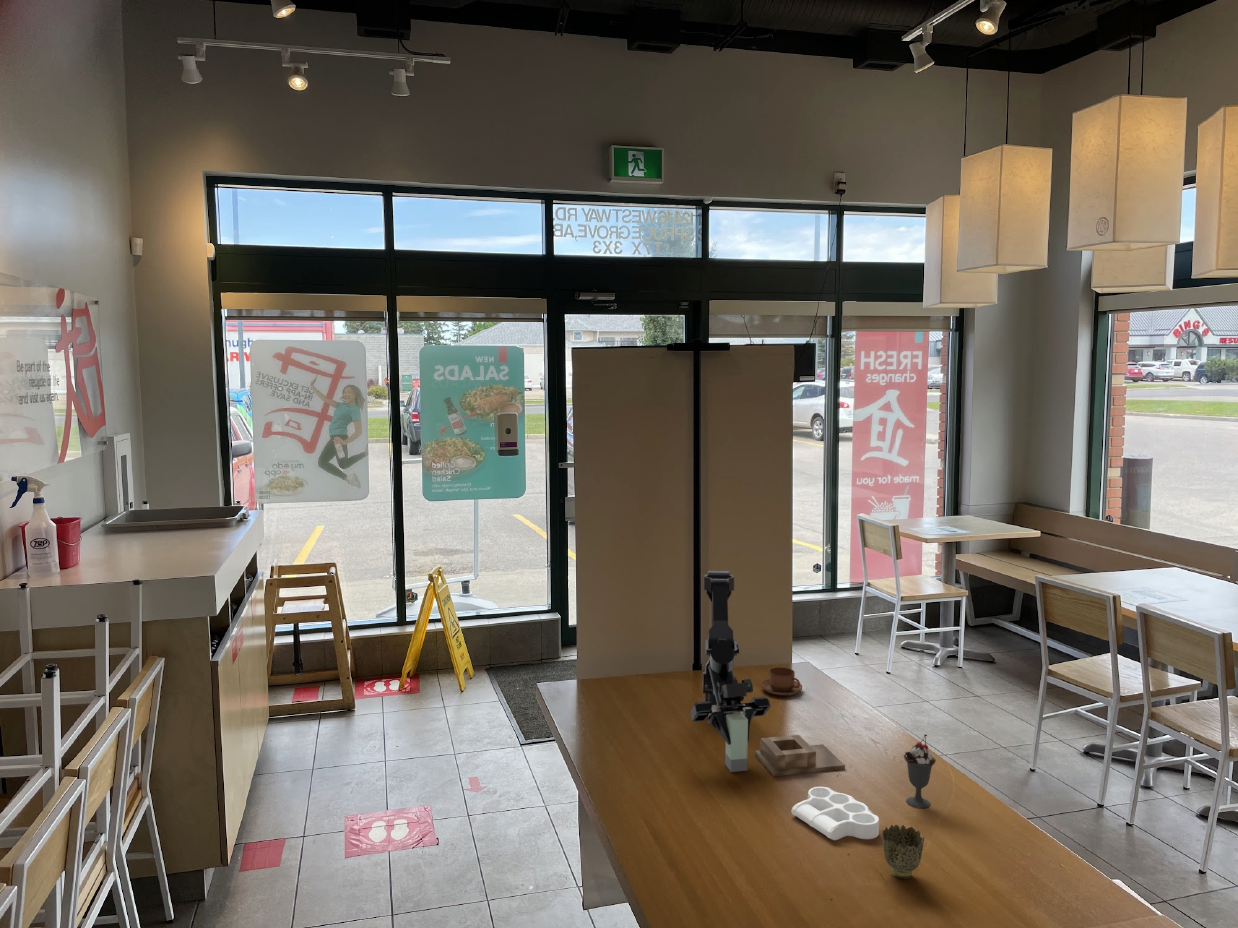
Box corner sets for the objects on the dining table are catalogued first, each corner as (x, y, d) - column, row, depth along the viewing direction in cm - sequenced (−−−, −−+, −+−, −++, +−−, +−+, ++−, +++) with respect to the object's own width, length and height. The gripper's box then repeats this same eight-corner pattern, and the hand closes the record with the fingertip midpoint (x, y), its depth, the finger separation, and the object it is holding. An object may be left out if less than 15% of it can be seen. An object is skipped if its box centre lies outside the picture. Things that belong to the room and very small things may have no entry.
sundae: (933, 797, 191) (936, 732, 189) (934, 812, 185) (936, 744, 183) (902, 793, 193) (904, 728, 192) (901, 807, 187) (904, 740, 185)
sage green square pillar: (730, 771, 203) (731, 720, 202) (725, 764, 207) (726, 714, 206) (747, 770, 204) (747, 719, 203) (741, 763, 208) (742, 712, 207)
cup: (874, 864, 165) (876, 824, 164) (912, 862, 165) (913, 822, 164) (890, 887, 157) (891, 845, 156) (929, 885, 158) (931, 843, 157)
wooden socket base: (773, 776, 201) (773, 757, 201) (755, 754, 213) (755, 736, 212) (844, 768, 205) (845, 750, 205) (822, 747, 217) (823, 730, 216)
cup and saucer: (806, 687, 259) (806, 668, 259) (796, 701, 248) (797, 680, 248) (767, 682, 264) (767, 662, 264) (756, 695, 254) (756, 674, 253)
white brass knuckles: (781, 811, 186) (832, 795, 193) (841, 851, 170) (894, 831, 177) (781, 796, 185) (832, 781, 192) (841, 835, 170) (894, 816, 177)
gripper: (694, 669, 205) (708, 733, 195) (768, 664, 209) (785, 726, 199) (684, 690, 214) (697, 751, 204) (756, 684, 217) (772, 744, 208)
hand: (738, 743), depth 204 cm, fingers closed on sage green square pillar, 4 cm apart
